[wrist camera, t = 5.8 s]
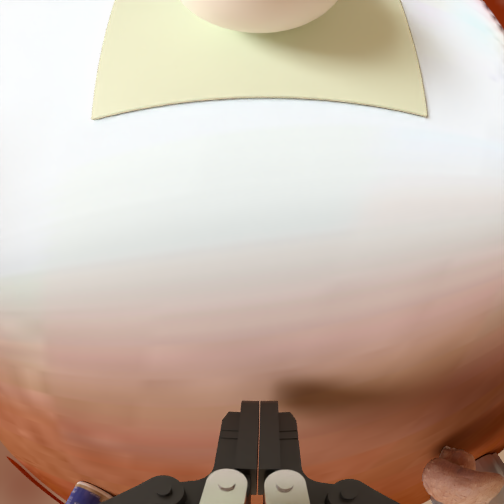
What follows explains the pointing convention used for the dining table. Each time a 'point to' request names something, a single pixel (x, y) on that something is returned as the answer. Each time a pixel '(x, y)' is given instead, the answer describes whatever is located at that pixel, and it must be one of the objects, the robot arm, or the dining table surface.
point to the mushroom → (459, 479)
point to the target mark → (257, 59)
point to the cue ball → (259, 13)
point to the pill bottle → (87, 494)
